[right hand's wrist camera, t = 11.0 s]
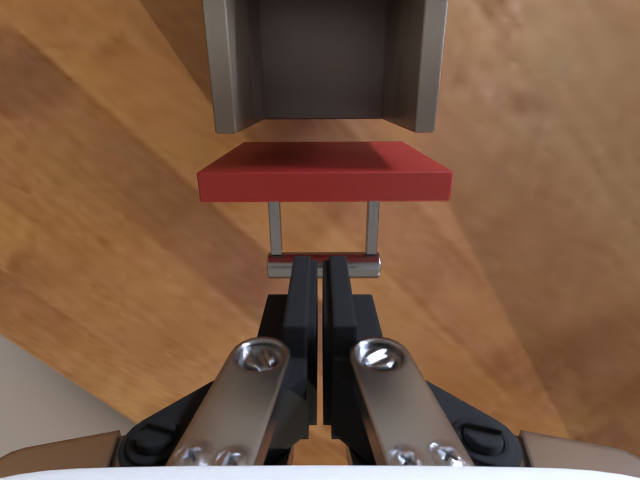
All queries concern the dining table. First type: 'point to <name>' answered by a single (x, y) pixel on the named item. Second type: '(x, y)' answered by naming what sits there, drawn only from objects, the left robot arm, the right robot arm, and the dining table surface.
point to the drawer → (324, 107)
